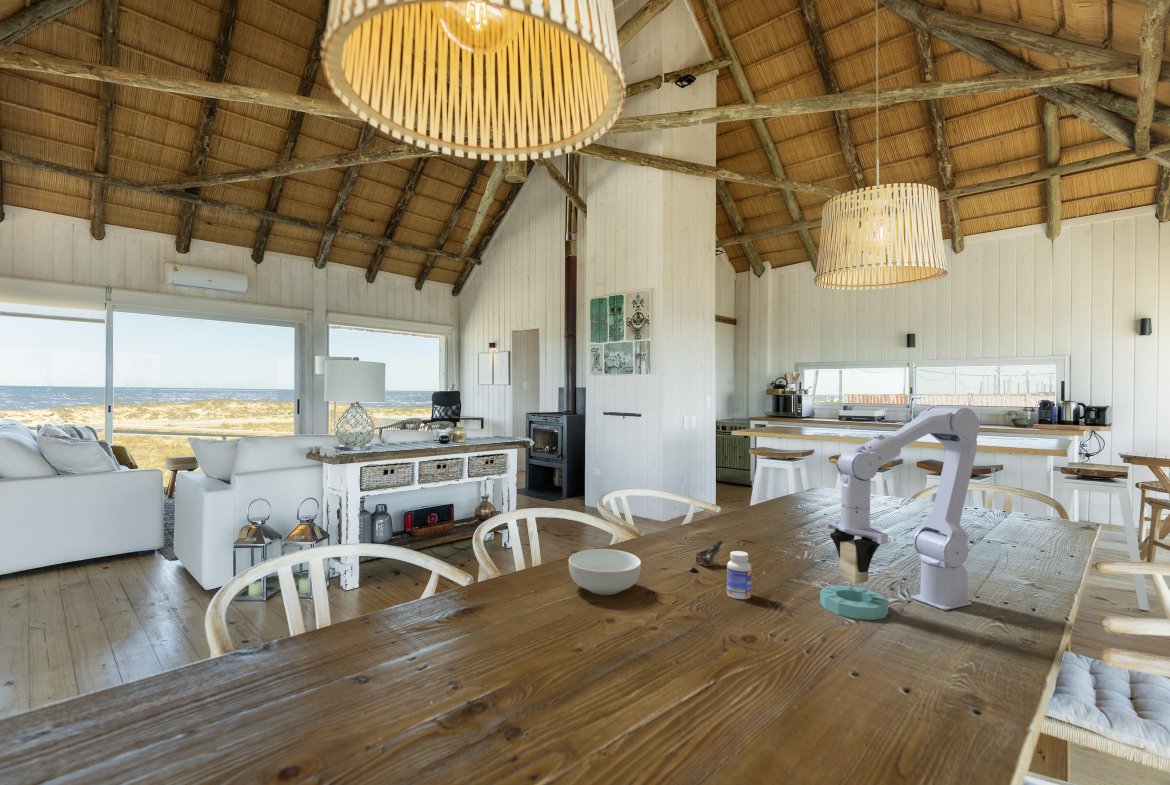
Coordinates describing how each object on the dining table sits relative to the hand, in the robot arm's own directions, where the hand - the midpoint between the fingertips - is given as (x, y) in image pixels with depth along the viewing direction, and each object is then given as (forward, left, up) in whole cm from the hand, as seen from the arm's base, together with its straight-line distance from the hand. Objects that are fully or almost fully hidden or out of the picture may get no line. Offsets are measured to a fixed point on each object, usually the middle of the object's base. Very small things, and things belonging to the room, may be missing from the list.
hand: (854, 568), depth 122 cm
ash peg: (0, 0, -2) cm, 2 cm away
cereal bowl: (+46, -30, -9) cm, 56 cm away
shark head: (+11, -36, -9) cm, 38 cm away
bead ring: (0, 0, -8) cm, 8 cm away
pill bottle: (+19, -15, -9) cm, 26 cm away
